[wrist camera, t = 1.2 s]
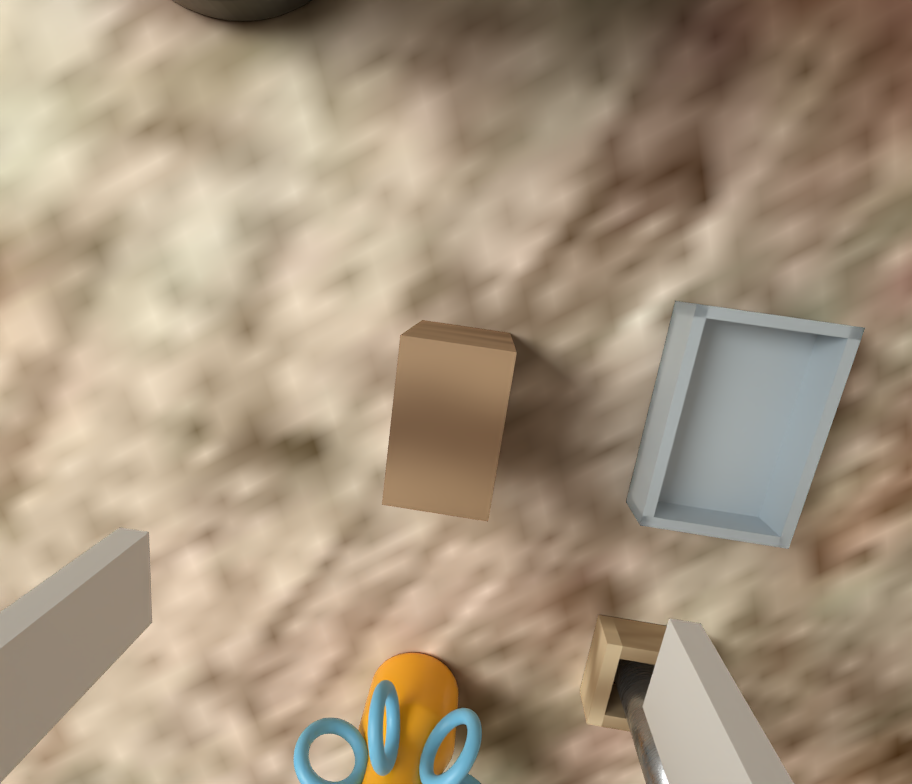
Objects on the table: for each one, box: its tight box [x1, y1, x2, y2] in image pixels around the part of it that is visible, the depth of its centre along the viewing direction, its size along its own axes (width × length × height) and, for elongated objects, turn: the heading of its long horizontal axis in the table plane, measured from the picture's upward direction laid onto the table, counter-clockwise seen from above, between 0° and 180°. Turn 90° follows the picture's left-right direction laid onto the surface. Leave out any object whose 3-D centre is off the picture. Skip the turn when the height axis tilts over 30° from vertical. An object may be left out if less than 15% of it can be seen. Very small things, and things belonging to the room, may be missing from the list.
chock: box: [382, 320, 517, 521], centre depth 25 cm, size 8×5×7 cm, turn 172°
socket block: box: [580, 615, 667, 731], centre depth 30 cm, size 6×6×2 cm
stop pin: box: [614, 659, 669, 784], centre depth 26 cm, size 4×4×11 cm
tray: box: [626, 301, 865, 549], centre depth 26 cm, size 12×8×3 cm, turn 172°
